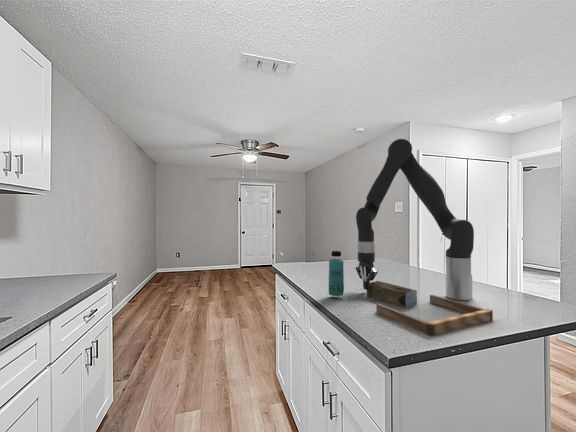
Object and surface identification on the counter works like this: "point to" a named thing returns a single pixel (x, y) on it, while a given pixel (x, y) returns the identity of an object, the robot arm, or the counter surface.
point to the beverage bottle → (336, 275)
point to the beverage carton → (392, 294)
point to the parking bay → (444, 325)
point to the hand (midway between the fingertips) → (366, 289)
